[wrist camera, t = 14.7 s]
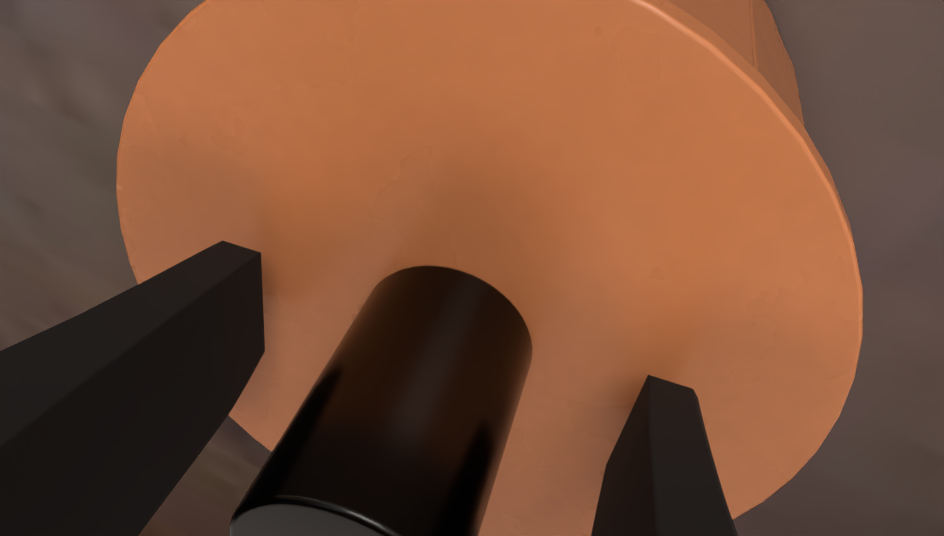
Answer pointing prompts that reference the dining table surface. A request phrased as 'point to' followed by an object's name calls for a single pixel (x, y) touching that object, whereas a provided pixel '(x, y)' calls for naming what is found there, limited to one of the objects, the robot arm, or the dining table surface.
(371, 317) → the orange pot lid
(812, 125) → the dining table surface
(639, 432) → the robot arm
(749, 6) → the orange pot
